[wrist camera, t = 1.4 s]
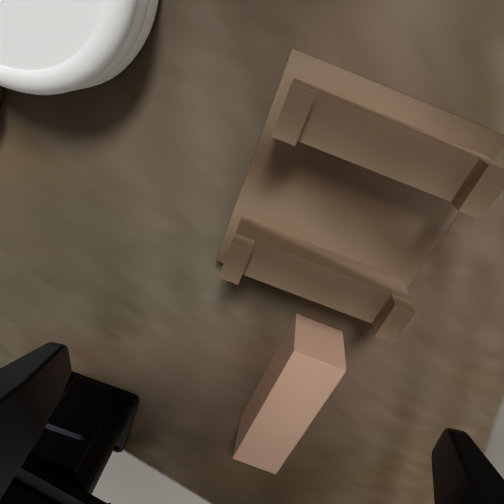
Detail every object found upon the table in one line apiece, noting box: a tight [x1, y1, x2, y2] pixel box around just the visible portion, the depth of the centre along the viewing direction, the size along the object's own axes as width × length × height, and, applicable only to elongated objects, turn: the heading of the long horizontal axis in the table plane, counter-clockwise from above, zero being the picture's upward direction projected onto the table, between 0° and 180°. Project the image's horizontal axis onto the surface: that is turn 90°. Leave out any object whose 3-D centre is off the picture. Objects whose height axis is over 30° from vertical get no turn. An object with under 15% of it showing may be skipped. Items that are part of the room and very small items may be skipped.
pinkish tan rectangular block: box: [232, 314, 346, 474], centre depth 25 cm, size 10×3×4 cm, turn 160°
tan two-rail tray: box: [216, 49, 504, 343], centre depth 19 cm, size 11×10×4 cm
